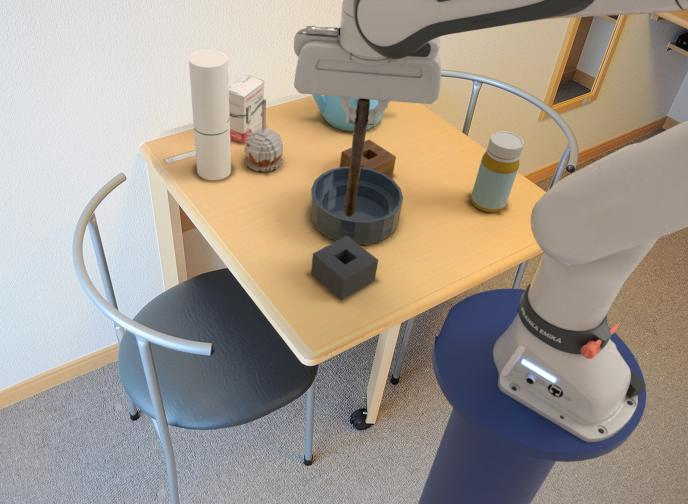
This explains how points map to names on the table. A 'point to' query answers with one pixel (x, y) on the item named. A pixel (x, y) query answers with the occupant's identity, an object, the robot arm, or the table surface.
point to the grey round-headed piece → (263, 147)
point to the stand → (344, 267)
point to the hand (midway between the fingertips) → (361, 122)
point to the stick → (356, 156)
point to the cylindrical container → (211, 113)
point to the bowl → (371, 206)
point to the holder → (372, 158)
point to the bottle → (497, 171)
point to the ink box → (245, 107)
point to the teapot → (339, 111)
